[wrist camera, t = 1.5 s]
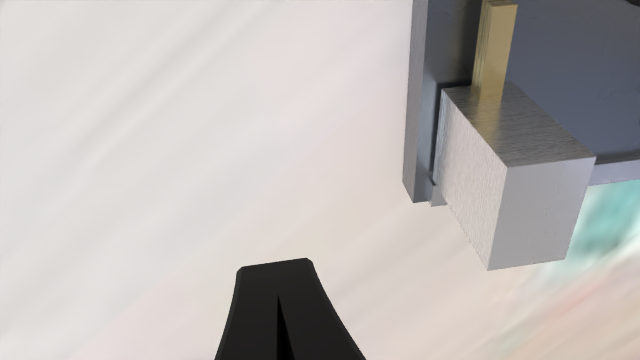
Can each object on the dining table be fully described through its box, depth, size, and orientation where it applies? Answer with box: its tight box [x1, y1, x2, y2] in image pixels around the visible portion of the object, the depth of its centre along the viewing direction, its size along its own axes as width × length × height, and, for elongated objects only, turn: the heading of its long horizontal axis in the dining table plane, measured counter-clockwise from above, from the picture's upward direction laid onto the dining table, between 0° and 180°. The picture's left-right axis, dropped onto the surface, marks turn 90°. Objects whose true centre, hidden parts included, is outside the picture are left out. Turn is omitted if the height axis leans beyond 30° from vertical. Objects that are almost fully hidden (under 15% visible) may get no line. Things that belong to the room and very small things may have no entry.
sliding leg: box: [433, 0, 596, 271], centre depth 13 cm, size 2×5×4 cm, turn 3°
